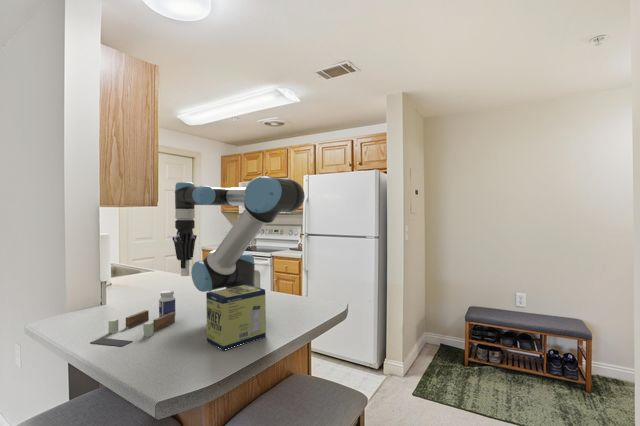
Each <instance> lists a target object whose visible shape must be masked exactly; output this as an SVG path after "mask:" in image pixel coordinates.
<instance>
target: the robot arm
mask: <svg viewBox="0 0 640 426" xmlns="http://www.w3.org/2000/svg"><path fill="white" fill-rule="evenodd" d="M174 189H175V190H174V207H175V208H174V210H175V211H174V212H175V216H174V218H175V221H174V222H175V223H174V228H175V229H176V230H177V231H176V235H175V236H173V237H172V241H173V244H174V250H175V257H176V260H178V261H180V276H181V277H189V276H190V273H191V280H192V282H193V285H194V287H195V288H196V289H197V290H198V291H199V292H202V293H207V292H212V291H217V290H221V289H228V288H233V287H238V286H243V285H250V286H254V287H255V266H256V264H255V256H254V255H253V254H249V253H248V254H247V253H245V251H246V250H247V249H248V247H249V246H250V244H251V243H252V242H253V241H254V239H255V238H256V237H257V235H258V234H259V233H260V232H261V230H262V229H263V227H265V225H266V224H272V223H273V222H274V220H275V219H276V217H278V215H279V214H280V213H293V212H296V211H298V210H299V209H300V208H301V207H302V206H303V205H304V204H303V203H304V201H305V191H304V188H303V186H302V185H301V184H300V183H299V182H298V181H296V180H293V179H287V178H277V177H273V176H268V175H267V176H257V177H255V178H253V179H251V180H250V181H249V182H248V184H247V185H246V187H213V186H209V185H198V186H197V185H195V183H194V182H189V181H187V182H186V181H183V182H182V181H179V182H176V183H175V188H174ZM195 206H224V207H225V206H226V207H227V206H228V207H230V206H231V207H232V206H234V207H236V206H237V207H241V206H243V207H244V210H243V211H242V212H241V214H240V215H239V217H238V218H237V219H236V221H235V223H234V224H233V225H232V227H231V228H230V229H229V231H228V232H227V234H226V236H225V237H224V238H223V239H222V240H221V242H220V244H219V245H218V247H217V248H216V249H214V250H211V251H210V252H208V253H207V255H206V257H205V258H204V259H203V260H198V261H195V262H194V263H193V265H192V267H191V272H190V261H191V260H192V259H193V257H194V253H195V252H194V251H195V244H196V240H197V237H198V235H197V234H194V232H193V229H195V225H196V224H195V222H196V221H195V220H194V219H195V218H196V217H195V216H196V214H195V213H196V212H195V208H196V207H195Z"/></svg>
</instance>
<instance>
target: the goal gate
mask: <svg viewBox="0 0 640 426" xmlns="http://www.w3.org/2000/svg"><path fill="white" fill-rule="evenodd" d="M118 332H119V319H117V318H116V319H115V318H113V319H110V320H108V334H115V333H118ZM153 335H154V330H153V321H147V322H145V323H143V337H146V338H149V337H151V336H153Z"/></svg>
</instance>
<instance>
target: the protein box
mask: <svg viewBox="0 0 640 426" xmlns="http://www.w3.org/2000/svg"><path fill="white" fill-rule="evenodd" d="M205 295H206V300H205V301H206V342H207V341H208V342H207V343H209V342H210V343H211V344H210V343H209V344H210V345H212V344H213V345H212V346H214V345H215V346H217V347H219V348H221V349H222V350H225V349H228V348H231V347H234V346H237V345H240V344H243V343H246V342H249V343H251V342H250V341H252V342H254V341H253V340H255V341H257V340H256V339H258V340H261V339H264V338H266V337H267V333H266V332H267V331H266V330H267V329H266V327H267V324H266V323H267V322H266V321H267V320H266V317H267V316H266V313H267V312H266V311H267V310H266V306H267V305H266V289H264V288H261V287H257V286H255V285H254V286H250V285H243V286H238V287H233V288H228V289H226V288H222V289H217V290H212V291H206V292H205ZM263 337H264V338H263ZM260 338H261V339H260ZM246 344H247V343H246ZM243 345H244V344H243ZM215 346H214V347H215ZM240 346H241V345H240ZM217 347H216V348H217ZM237 347H238V346H237ZM219 348H218V349H219ZM234 348H235V347H234ZM221 349H220V350H221ZM231 349H232V348H231ZM222 350H221V351H222ZM228 350H229V349H228ZM225 351H226V350H225Z"/></svg>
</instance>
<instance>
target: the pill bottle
mask: <svg viewBox="0 0 640 426" xmlns="http://www.w3.org/2000/svg"><path fill="white" fill-rule="evenodd" d="M174 295H175V292H174V290H162V291H160V295H159V296H160V298H159V299H158V314H159V315H158V318H159V317H162V316H164V315H166V314H168V313H171V312H175V313H176V297H175V296H174Z"/></svg>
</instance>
